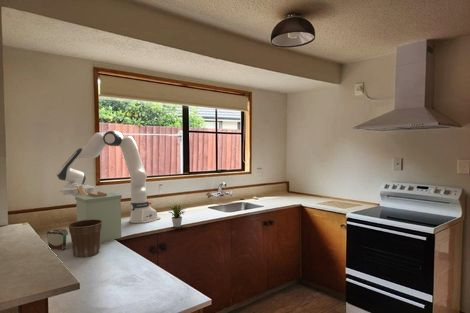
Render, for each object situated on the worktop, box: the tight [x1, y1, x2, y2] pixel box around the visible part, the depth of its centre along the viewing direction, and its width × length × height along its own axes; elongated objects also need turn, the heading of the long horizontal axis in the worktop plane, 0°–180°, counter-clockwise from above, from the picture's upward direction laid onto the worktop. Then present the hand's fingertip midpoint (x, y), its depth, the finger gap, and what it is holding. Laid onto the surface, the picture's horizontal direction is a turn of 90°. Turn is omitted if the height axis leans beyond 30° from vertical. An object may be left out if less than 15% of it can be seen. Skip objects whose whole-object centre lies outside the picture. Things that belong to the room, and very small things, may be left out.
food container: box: [45, 228, 69, 251], centre depth 169 cm, size 12×6×10 cm, turn 74°
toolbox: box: [74, 190, 123, 243], centre depth 186 cm, size 21×17×28 cm
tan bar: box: [77, 186, 88, 196], centre depth 204 cm, size 4×18×3 cm, turn 44°
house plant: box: [169, 202, 188, 228], centre depth 211 cm, size 14×14×16 cm
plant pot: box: [67, 219, 102, 258], centre depth 160 cm, size 16×16×16 cm
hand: (81, 191), depth 206 cm, fingers closed on tan bar, 3 cm apart
